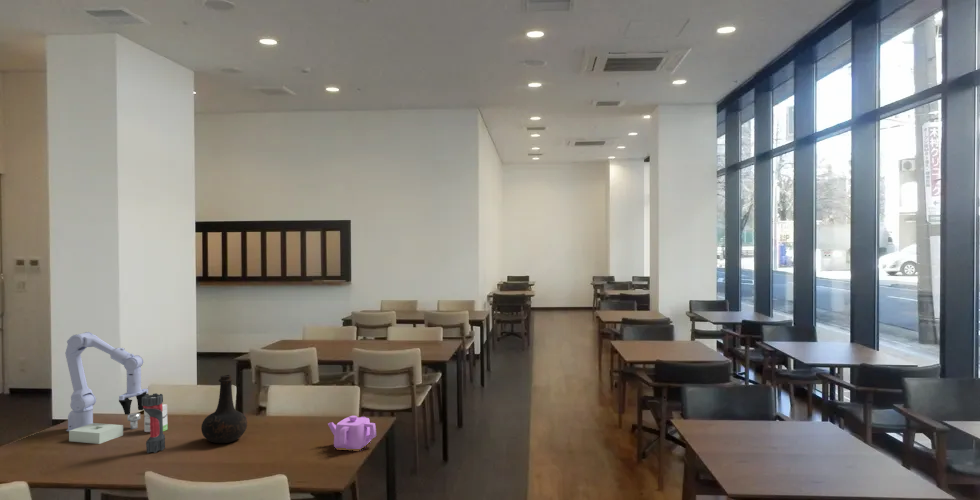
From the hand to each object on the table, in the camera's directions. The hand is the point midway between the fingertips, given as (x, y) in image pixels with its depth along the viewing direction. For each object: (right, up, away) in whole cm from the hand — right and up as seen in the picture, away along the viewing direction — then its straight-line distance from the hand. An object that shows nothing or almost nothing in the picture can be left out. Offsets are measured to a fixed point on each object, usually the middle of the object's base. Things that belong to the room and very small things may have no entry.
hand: (134, 412), depth 275 cm
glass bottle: (+50, -7, -18) cm, 54 cm away
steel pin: (0, -7, 0) cm, 7 cm away
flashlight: (+27, -7, -32) cm, 43 cm away
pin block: (-8, -7, -15) cm, 18 cm away
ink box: (+12, -8, -4) cm, 15 cm away
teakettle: (+107, -7, -25) cm, 110 cm away
